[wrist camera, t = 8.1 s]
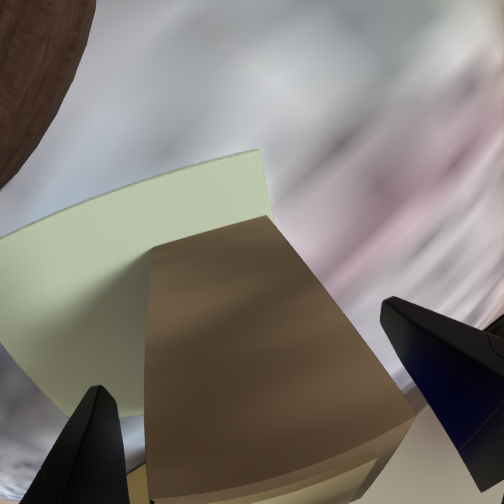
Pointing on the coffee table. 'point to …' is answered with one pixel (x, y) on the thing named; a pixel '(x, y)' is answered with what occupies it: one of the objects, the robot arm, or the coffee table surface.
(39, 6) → the black ball on stand
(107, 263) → the sage mat
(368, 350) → the walnut block
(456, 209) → the coffee table surface
